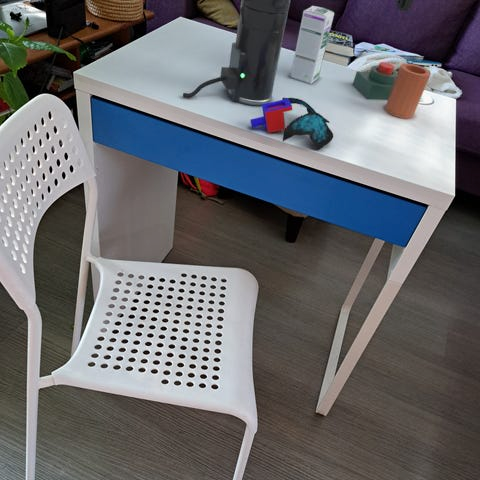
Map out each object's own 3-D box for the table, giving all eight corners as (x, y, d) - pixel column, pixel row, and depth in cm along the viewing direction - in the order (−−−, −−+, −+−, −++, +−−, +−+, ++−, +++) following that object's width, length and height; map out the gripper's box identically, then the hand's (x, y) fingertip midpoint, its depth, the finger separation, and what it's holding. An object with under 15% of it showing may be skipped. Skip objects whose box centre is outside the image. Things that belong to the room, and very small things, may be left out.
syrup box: (311, 84, 119) (328, 16, 108) (288, 77, 120) (303, 8, 109) (318, 77, 123) (336, 11, 112) (296, 70, 124) (311, 4, 113)
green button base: (367, 98, 118) (374, 77, 114) (352, 84, 123) (359, 63, 119) (402, 100, 121) (410, 78, 118) (387, 86, 126) (394, 65, 123)
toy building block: (290, 119, 99) (251, 128, 99) (288, 98, 96) (247, 107, 96) (294, 127, 97) (254, 136, 97) (292, 105, 94) (250, 115, 94)
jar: (393, 118, 112) (410, 74, 105) (380, 105, 116) (395, 62, 110) (418, 119, 114) (436, 76, 108) (403, 106, 118) (420, 64, 112)
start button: (381, 75, 117) (384, 67, 116) (374, 69, 119) (376, 61, 118) (394, 76, 118) (397, 68, 117) (387, 70, 120) (389, 62, 119)
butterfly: (339, 145, 92) (295, 115, 88) (322, 166, 95) (279, 139, 92) (331, 107, 104) (293, 80, 100) (316, 127, 107) (278, 101, 104)
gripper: (454, -90, 101) (417, 7, 113) (399, -101, 96) (368, 1, 109) (476, -82, 96) (435, 18, 108) (420, -93, 92) (384, 13, 104)
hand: (401, 10), depth 109 cm, fingers closed
